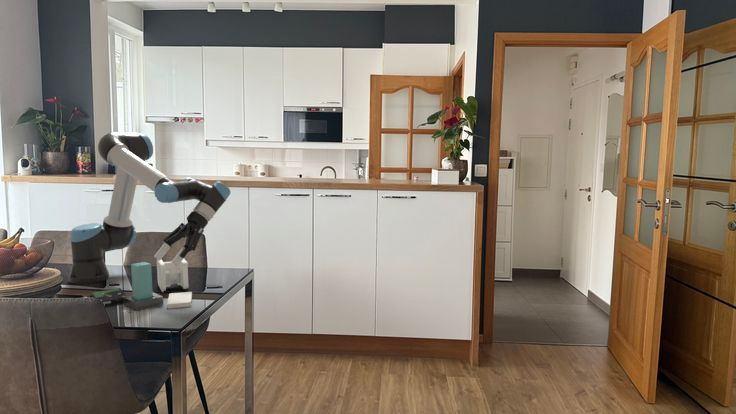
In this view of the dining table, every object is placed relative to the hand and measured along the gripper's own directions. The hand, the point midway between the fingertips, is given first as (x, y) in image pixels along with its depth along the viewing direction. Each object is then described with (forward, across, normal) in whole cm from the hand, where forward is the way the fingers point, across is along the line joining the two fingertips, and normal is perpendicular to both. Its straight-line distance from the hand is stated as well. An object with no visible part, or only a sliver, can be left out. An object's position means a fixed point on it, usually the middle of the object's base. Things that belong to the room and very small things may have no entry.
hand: (165, 261), depth 191 cm
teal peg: (+16, +1, -4) cm, 17 cm away
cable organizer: (+4, +14, -17) cm, 23 cm away
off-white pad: (+9, -6, -12) cm, 16 cm away
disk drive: (+21, +16, 0) cm, 26 cm away
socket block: (+16, +1, -4) cm, 17 cm away
